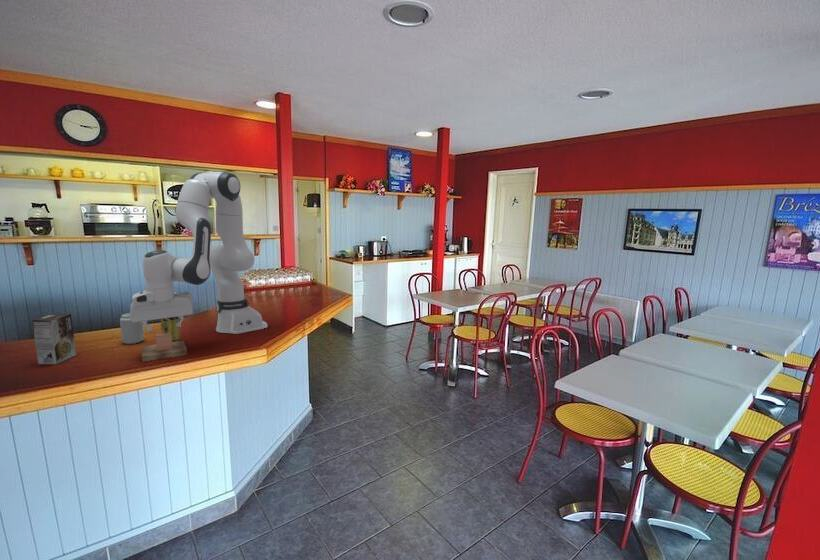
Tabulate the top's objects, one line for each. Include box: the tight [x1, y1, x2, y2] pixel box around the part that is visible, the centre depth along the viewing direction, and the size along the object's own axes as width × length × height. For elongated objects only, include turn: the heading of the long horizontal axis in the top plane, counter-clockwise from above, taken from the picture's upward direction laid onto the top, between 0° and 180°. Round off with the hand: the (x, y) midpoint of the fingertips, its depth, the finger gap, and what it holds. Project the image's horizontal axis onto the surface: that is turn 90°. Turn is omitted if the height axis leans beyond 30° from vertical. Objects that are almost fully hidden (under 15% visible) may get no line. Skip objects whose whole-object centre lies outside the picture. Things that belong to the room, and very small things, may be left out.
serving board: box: [141, 340, 188, 363], centre depth 146 cm, size 14×13×2 cm
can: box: [119, 312, 145, 345], centre depth 157 cm, size 8×8×12 cm
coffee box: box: [31, 312, 77, 365], centre depth 136 cm, size 9×6×16 cm
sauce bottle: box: [160, 316, 180, 342], centre depth 157 cm, size 7×6×20 cm
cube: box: [154, 333, 172, 351], centre depth 146 cm, size 5×5×5 cm
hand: (164, 329), depth 146 cm, fingers open, 8 cm apart
